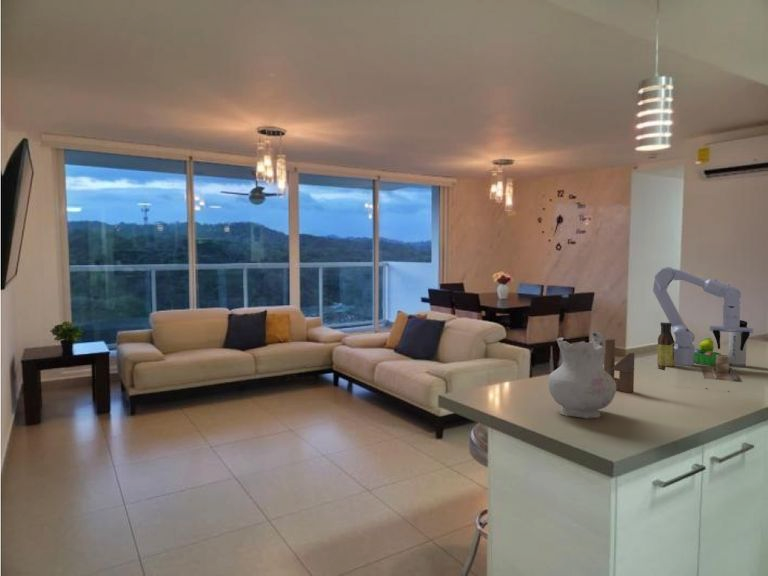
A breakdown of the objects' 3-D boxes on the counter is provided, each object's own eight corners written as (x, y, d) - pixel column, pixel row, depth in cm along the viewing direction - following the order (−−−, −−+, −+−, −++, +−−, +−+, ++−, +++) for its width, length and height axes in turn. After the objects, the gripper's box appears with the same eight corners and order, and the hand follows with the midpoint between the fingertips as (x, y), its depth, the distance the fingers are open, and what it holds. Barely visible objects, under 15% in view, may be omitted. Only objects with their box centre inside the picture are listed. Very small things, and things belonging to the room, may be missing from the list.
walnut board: (703, 382, 191) (704, 376, 190) (700, 370, 210) (701, 364, 209) (742, 385, 185) (742, 379, 184) (735, 373, 204) (735, 367, 204)
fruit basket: (685, 361, 227) (686, 337, 226) (697, 359, 230) (698, 335, 230) (710, 366, 216) (711, 340, 216) (723, 364, 220) (724, 339, 219)
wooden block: (627, 393, 176) (629, 342, 175) (600, 386, 186) (601, 338, 184) (634, 391, 178) (635, 341, 177) (606, 385, 188) (607, 337, 186)
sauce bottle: (676, 370, 210) (677, 323, 208) (660, 370, 211) (661, 323, 209) (670, 367, 216) (671, 321, 215) (654, 366, 217) (655, 321, 216)
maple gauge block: (714, 371, 202) (715, 356, 201) (713, 368, 206) (714, 354, 206) (728, 372, 199) (729, 357, 199) (727, 369, 204) (727, 355, 203)
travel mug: (739, 363, 221) (741, 319, 220) (748, 367, 215) (750, 321, 213) (724, 363, 222) (726, 318, 221) (733, 366, 215) (735, 320, 214)
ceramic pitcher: (565, 402, 170) (560, 329, 170) (627, 408, 158) (622, 330, 157) (541, 419, 154) (535, 338, 153) (607, 427, 141) (602, 339, 141)
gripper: (710, 316, 205) (709, 349, 206) (754, 318, 198) (753, 352, 199) (709, 314, 211) (708, 346, 212) (752, 316, 204) (750, 349, 205)
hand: (730, 349), depth 206 cm, fingers open, 7 cm apart
